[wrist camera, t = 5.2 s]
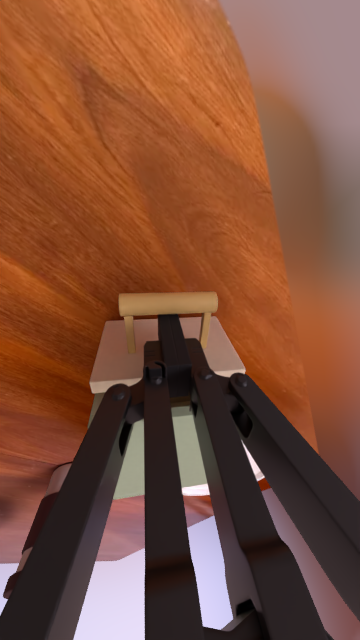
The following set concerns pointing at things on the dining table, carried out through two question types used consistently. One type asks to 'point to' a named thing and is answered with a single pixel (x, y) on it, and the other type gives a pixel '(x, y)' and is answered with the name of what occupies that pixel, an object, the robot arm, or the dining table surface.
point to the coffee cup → (38, 522)
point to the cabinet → (134, 457)
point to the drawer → (131, 335)
